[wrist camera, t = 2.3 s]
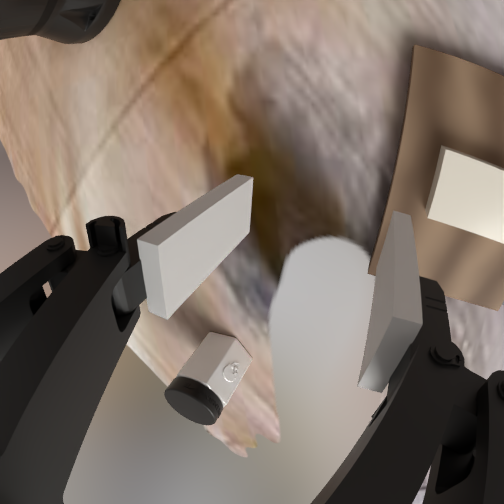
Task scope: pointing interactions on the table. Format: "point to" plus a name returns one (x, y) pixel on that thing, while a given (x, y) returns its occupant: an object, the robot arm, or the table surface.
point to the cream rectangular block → (468, 194)
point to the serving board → (424, 166)
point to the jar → (208, 378)
